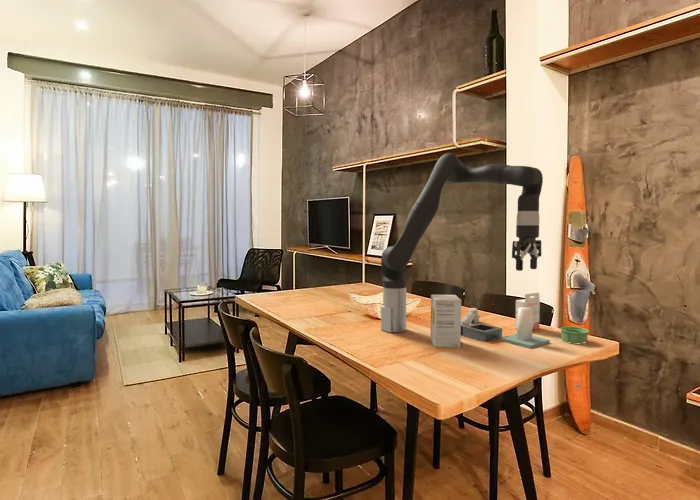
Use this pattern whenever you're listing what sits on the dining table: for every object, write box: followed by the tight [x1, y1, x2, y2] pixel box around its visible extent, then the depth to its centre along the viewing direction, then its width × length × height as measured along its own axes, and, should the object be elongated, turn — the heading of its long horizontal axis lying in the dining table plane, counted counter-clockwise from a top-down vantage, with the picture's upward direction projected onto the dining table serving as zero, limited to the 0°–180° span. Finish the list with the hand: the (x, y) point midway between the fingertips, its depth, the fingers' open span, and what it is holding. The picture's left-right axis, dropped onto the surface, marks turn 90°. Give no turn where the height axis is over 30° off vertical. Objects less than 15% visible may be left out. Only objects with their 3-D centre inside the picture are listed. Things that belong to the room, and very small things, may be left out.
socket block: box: [462, 322, 503, 343], centre depth 163 cm, size 10×10×4 cm
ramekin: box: [560, 325, 589, 344], centre depth 157 cm, size 9×9×4 cm
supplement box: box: [430, 294, 462, 348], centre depth 154 cm, size 10×9×17 cm
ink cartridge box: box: [515, 292, 541, 331], centre depth 174 cm, size 9×5×15 cm, turn 117°
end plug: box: [516, 307, 533, 341], centre depth 157 cm, size 5×5×11 cm
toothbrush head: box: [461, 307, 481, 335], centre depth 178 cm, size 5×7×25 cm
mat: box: [499, 332, 551, 349], centre depth 157 cm, size 12×12×1 cm
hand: (526, 269), depth 155 cm, fingers open, 8 cm apart
